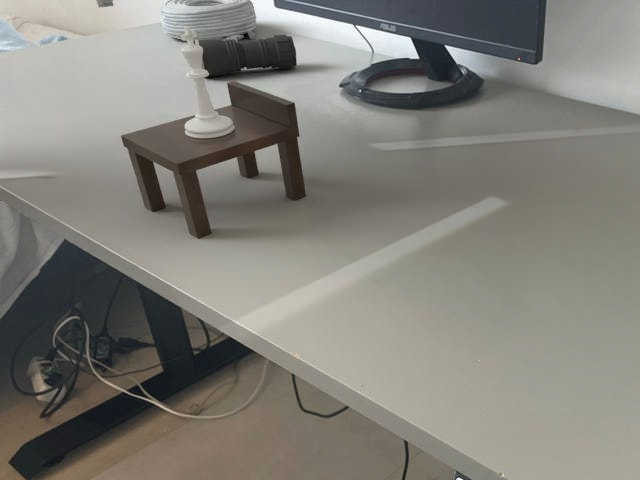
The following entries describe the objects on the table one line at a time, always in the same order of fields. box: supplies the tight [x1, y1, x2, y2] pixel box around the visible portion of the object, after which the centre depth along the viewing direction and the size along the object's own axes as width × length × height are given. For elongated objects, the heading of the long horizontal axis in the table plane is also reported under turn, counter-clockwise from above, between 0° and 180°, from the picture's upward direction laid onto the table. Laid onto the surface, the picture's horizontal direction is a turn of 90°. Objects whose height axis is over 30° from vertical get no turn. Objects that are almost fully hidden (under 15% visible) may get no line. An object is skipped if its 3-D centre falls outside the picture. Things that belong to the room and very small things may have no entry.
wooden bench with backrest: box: [120, 80, 307, 239], centre depth 76 cm, size 14×11×10 cm
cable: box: [160, 0, 257, 43], centre depth 136 cm, size 18×18×6 cm
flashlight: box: [194, 34, 298, 78], centre depth 116 cm, size 15×5×5 cm, turn 112°
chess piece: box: [180, 26, 235, 139], centre depth 71 cm, size 5×5×10 cm
